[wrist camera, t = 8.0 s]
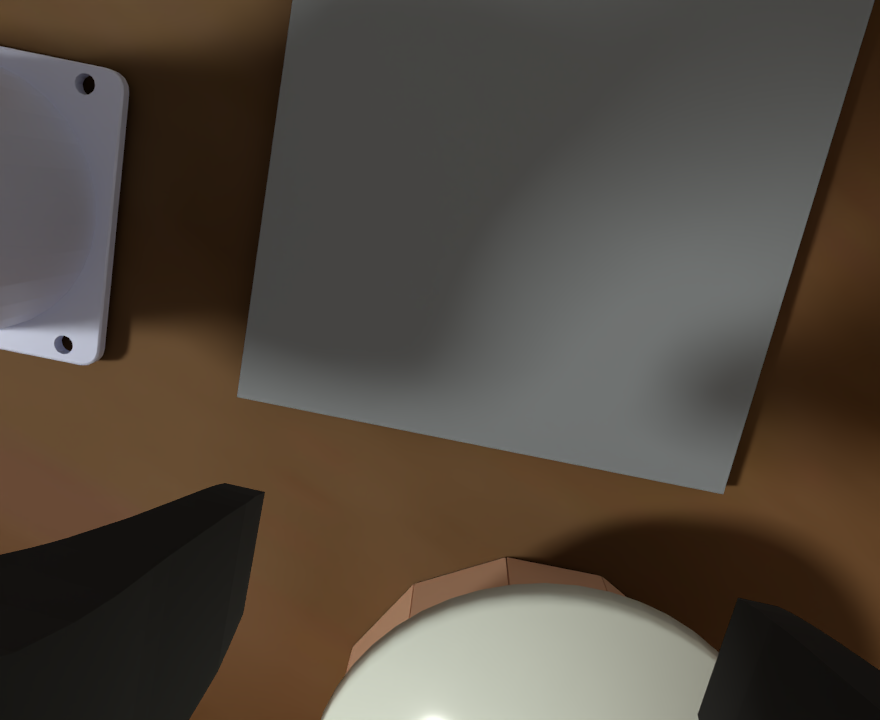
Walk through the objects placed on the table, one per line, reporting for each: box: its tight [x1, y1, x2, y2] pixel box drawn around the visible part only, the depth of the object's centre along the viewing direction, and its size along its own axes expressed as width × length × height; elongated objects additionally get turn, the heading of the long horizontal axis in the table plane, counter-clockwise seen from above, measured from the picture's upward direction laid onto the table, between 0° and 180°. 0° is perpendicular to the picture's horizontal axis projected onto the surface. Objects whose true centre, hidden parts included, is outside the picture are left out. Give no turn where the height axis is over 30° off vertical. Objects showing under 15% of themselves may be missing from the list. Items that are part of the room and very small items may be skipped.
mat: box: [237, 0, 875, 494], centre depth 19 cm, size 14×14×1 cm
